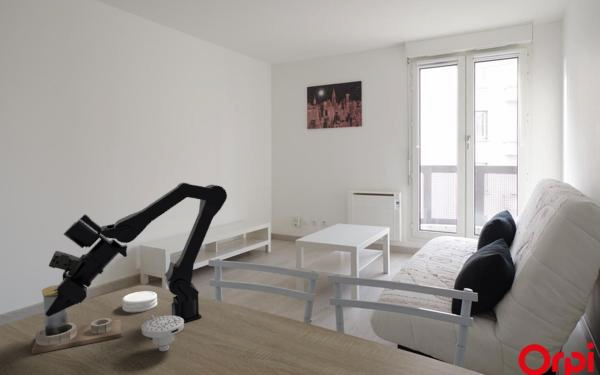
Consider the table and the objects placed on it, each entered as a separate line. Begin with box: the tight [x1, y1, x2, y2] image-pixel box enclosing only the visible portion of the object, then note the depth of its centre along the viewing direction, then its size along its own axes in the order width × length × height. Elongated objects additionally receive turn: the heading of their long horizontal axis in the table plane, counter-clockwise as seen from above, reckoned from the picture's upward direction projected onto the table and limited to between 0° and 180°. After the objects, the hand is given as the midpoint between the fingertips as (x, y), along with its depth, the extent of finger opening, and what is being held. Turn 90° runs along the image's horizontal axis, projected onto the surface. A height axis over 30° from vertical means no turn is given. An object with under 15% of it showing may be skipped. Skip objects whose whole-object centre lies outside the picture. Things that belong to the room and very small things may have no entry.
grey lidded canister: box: [41, 284, 69, 336], centre depth 97 cm, size 5×5×12 cm
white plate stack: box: [121, 290, 158, 313], centre depth 121 cm, size 10×10×4 cm
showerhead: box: [141, 314, 185, 352], centre depth 93 cm, size 9×7×10 cm
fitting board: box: [31, 317, 122, 355], centre depth 100 cm, size 19×10×3 cm, turn 116°
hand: (49, 308), depth 97 cm, fingers open, 9 cm apart
